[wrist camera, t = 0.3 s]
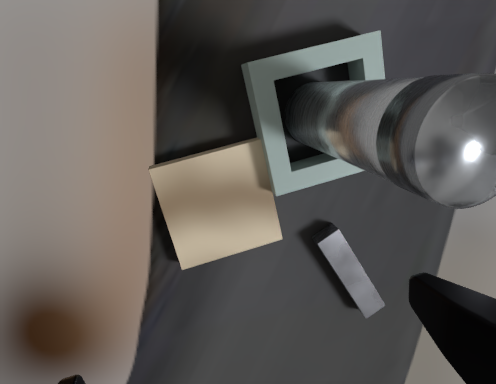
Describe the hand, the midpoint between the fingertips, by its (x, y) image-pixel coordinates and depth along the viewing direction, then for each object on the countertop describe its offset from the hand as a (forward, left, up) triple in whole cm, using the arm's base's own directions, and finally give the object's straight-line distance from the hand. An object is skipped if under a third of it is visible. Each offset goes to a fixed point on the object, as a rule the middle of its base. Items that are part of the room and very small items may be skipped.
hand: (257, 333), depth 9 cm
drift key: (-9, -8, -14) cm, 19 cm away
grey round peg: (+3, -8, -14) cm, 17 cm away
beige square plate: (-1, 0, -14) cm, 14 cm away
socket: (+3, -8, -14) cm, 17 cm away
